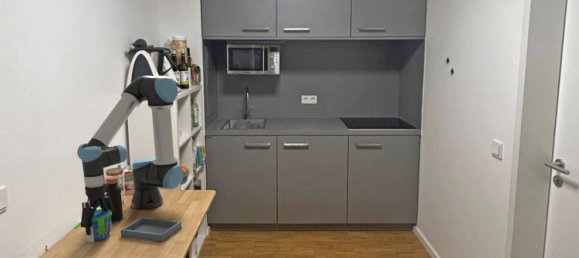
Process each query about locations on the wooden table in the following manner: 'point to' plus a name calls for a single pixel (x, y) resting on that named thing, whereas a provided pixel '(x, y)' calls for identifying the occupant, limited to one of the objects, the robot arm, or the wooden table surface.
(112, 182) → the bottle
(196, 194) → the wooden table surface
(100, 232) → the snack cup
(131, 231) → the tray
